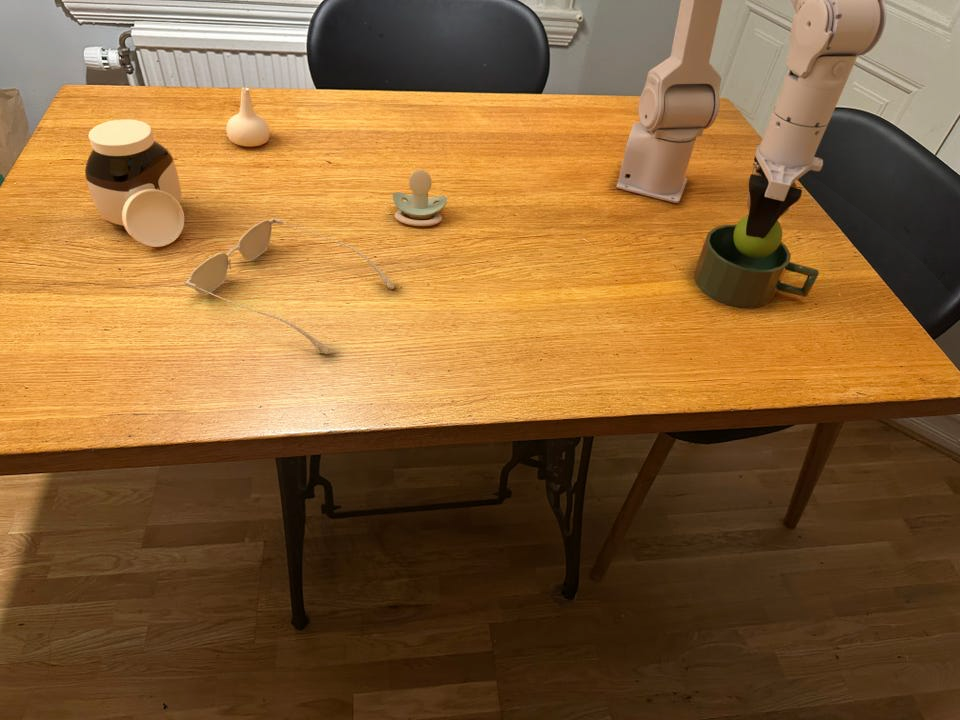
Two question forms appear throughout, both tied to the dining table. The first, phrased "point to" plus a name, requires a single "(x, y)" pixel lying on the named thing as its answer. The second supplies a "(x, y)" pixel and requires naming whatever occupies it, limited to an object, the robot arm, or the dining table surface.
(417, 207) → the pacifier
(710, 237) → the green mug
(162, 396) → the dining table surface
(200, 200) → the dining table surface
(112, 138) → the spread jar
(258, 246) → the eyeglasses
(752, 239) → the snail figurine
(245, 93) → the garlic bulb
